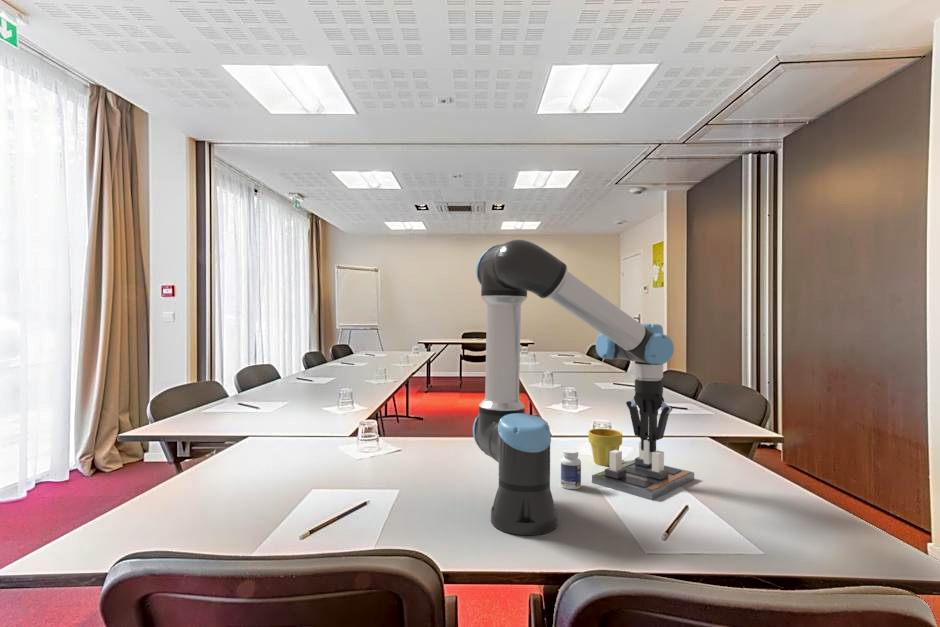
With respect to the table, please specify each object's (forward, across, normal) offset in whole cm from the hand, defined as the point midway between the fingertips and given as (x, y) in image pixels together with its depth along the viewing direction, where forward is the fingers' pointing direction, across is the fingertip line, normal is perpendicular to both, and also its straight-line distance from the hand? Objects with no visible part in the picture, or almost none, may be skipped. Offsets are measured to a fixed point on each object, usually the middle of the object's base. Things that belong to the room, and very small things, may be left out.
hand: (648, 462), depth 143 cm
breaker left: (+3, +6, +8) cm, 10 cm away
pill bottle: (+6, +12, +19) cm, 23 cm away
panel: (+5, +1, 0) cm, 6 cm away
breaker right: (+3, +5, -8) cm, 10 cm away
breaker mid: (+3, -3, 0) cm, 4 cm away
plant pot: (+6, +18, -7) cm, 20 cm away
